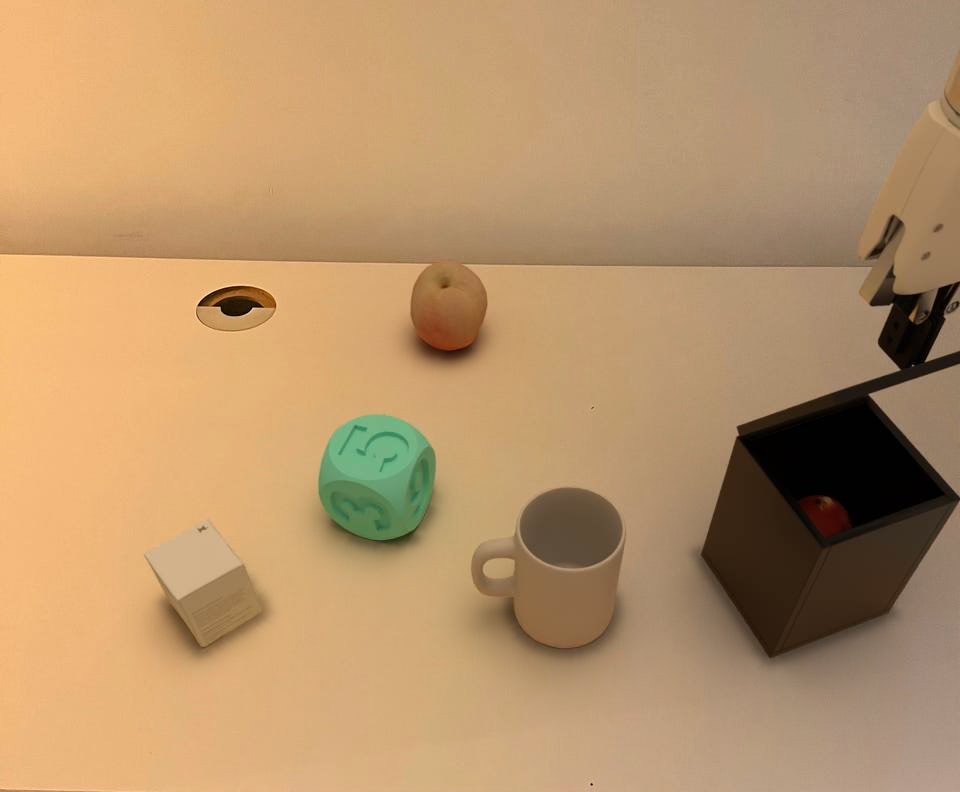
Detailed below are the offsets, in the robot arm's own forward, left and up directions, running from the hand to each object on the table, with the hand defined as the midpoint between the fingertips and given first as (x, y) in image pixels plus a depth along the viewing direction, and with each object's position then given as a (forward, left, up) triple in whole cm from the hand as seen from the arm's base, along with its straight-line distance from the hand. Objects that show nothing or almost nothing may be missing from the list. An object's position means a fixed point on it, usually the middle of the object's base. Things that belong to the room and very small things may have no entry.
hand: (899, 354), depth 65 cm
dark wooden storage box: (+4, +3, -21) cm, 22 cm away
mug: (+25, -3, -22) cm, 33 cm away
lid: (+4, +1, -1) cm, 4 cm away
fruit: (+20, -38, -22) cm, 48 cm away
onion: (+2, +1, -21) cm, 21 cm away
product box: (+51, -14, -22) cm, 57 cm away
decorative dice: (+34, -19, -22) cm, 44 cm away
